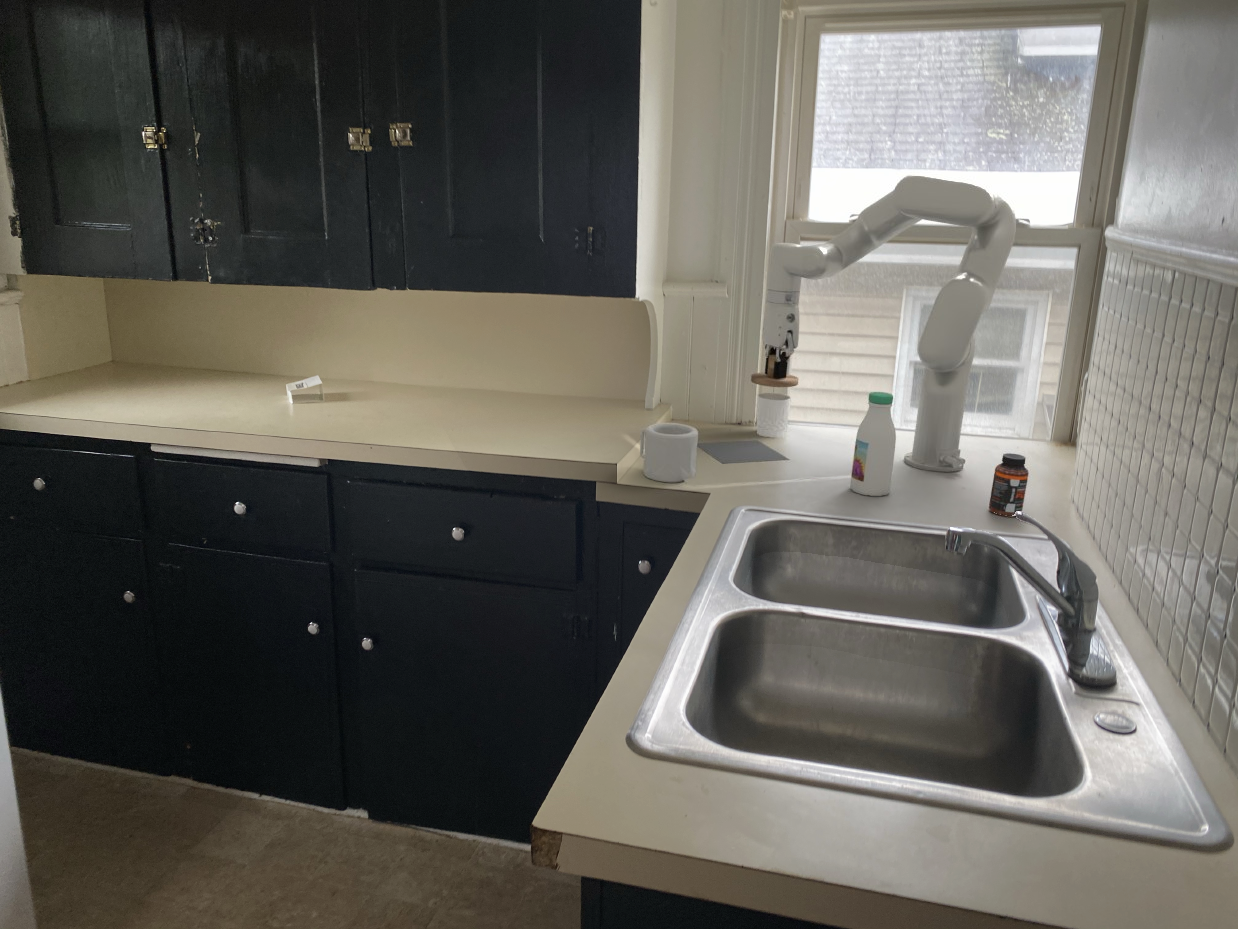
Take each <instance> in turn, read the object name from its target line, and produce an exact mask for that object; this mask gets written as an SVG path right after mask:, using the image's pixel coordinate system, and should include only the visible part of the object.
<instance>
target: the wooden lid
mask: <svg viewBox="0 0 1238 929" xmlns="http://www.w3.org/2000/svg"><path fill="white" fill-rule="evenodd" d="M774 361H776V355H769V362H768V373H767V375H766V374H765V371H764V372H756V373H752V374H751V375H750V382H752V383H753V384H755V385H758V386H763V387H769V388H770V387H771V388H793V387H796V386H798V385H799V377H797V376H796V375H792V374H788V373H787V375H786V378H777V379H775V378H773V372H774Z"/></svg>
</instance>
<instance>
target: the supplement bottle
mask: <svg viewBox="0 0 1238 929" xmlns="http://www.w3.org/2000/svg"><path fill="white" fill-rule="evenodd" d="M1026 458H1027V457H1025V455H1022V454H1017V453H1010V452H1008V453H1007V452H1006V453H1003V454H1002V459H1001V461H1002V462H1001V463H999V464H998V465H996V466H995V469H994V474H993V479H992V486H991V491H990V492H991V493H990V497H989V505H988V509H990V510H991V511H992V512H995V513H997V514H1001V515H1007V516H1012V515H1014V514H1015V512H1016V511H1023V509H1024V508H1023V507H1024V502H1025V496H1026V492H1027V485H1028V477H1029V470H1028V468H1026V467H1025V466H1026V465H1025V464H1026ZM990 510H989V511H990ZM991 511H990V512H991ZM992 512H991V513H992ZM995 513H994V514H995ZM997 514H996V515H997ZM1001 515H1000V516H1001ZM1013 518H1015V516H1014V517H1013Z"/></svg>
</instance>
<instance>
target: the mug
mask: <svg viewBox="0 0 1238 929" xmlns="http://www.w3.org/2000/svg"><path fill="white" fill-rule="evenodd" d="M698 440H699V431H698V430H697V428H695V427H693V426H691V425H687V424H683V423H677V422H659V423H653V424H650V425H648V426H646V427H645V428H643V429H642V430H641V431H640V444H639V445H640V446H639V447H640V448H639V456H640V457H641V458H643V466H642V467H643V474H644V476H645V477H646V478H648V479H650V480H653V481H656V482H661V483H662V482H663V483H672V484H673V483H675V484H676V483H684V482H686V481H685V480H687V479H690V478H692V477H694V476H695V475H696V470H697V452H698V446H697V443H698Z"/></svg>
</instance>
